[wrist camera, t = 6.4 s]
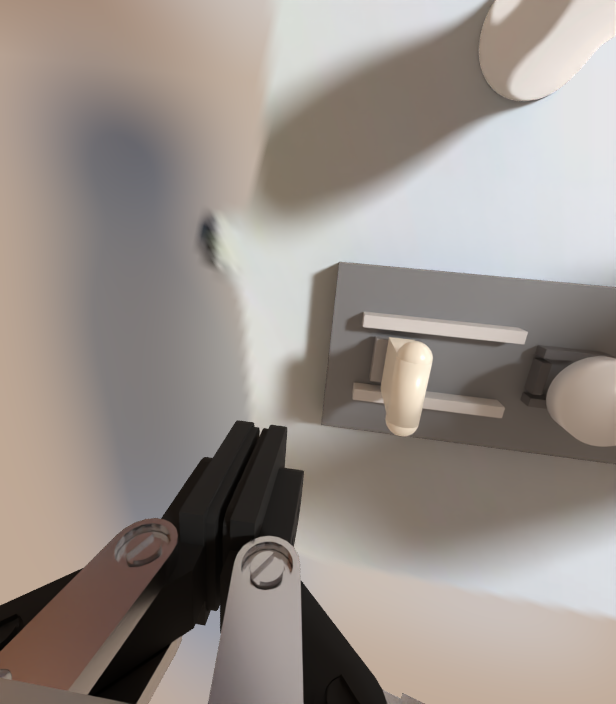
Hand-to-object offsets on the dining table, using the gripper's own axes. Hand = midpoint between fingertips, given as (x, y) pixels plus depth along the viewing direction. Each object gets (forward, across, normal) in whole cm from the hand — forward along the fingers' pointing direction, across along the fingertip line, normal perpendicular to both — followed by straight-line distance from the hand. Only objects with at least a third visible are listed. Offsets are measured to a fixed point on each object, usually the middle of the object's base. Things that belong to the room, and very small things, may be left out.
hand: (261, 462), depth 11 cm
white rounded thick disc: (+11, -17, 0) cm, 20 cm away
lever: (+13, -6, 0) cm, 14 cm away
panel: (+15, -15, 0) cm, 21 cm away
